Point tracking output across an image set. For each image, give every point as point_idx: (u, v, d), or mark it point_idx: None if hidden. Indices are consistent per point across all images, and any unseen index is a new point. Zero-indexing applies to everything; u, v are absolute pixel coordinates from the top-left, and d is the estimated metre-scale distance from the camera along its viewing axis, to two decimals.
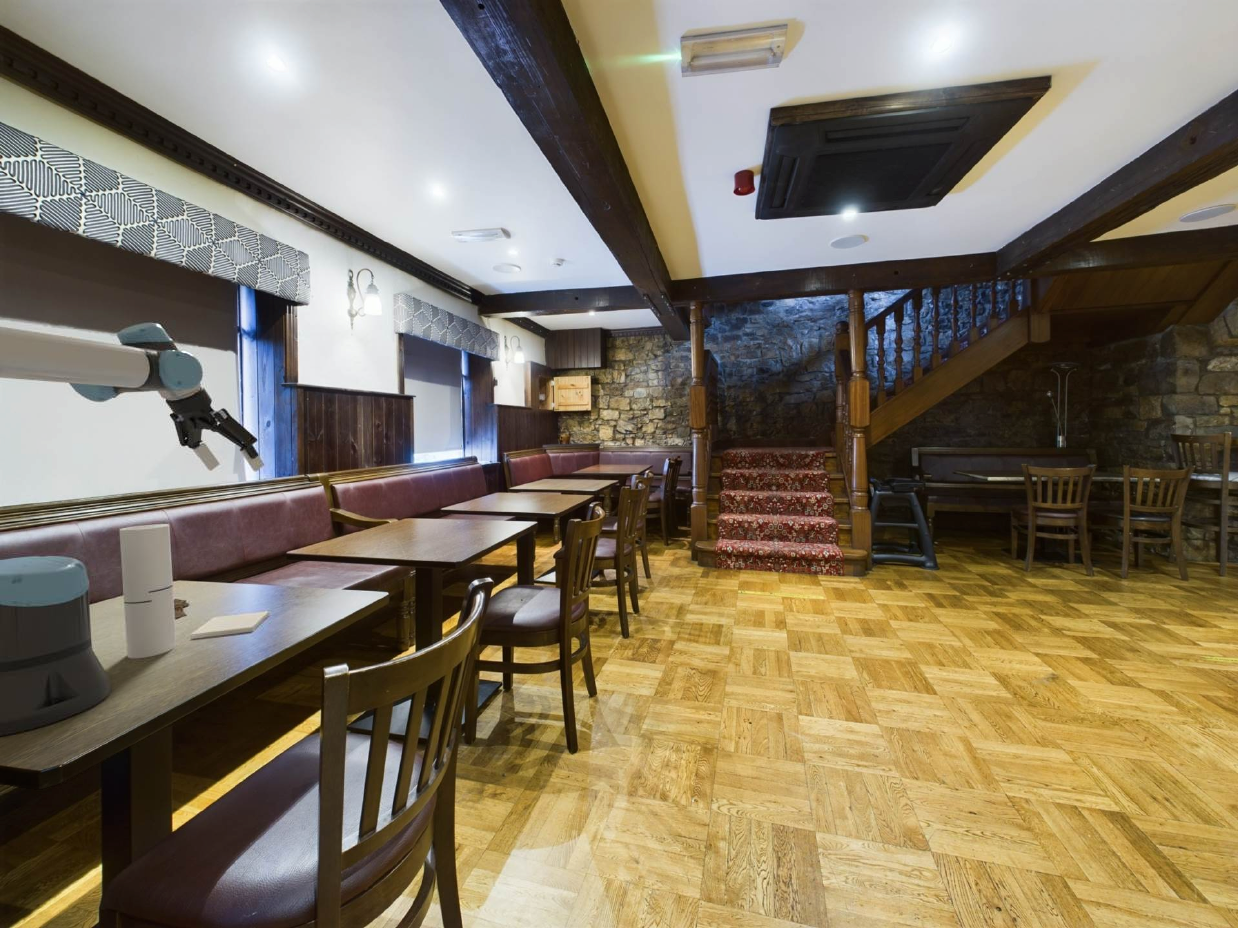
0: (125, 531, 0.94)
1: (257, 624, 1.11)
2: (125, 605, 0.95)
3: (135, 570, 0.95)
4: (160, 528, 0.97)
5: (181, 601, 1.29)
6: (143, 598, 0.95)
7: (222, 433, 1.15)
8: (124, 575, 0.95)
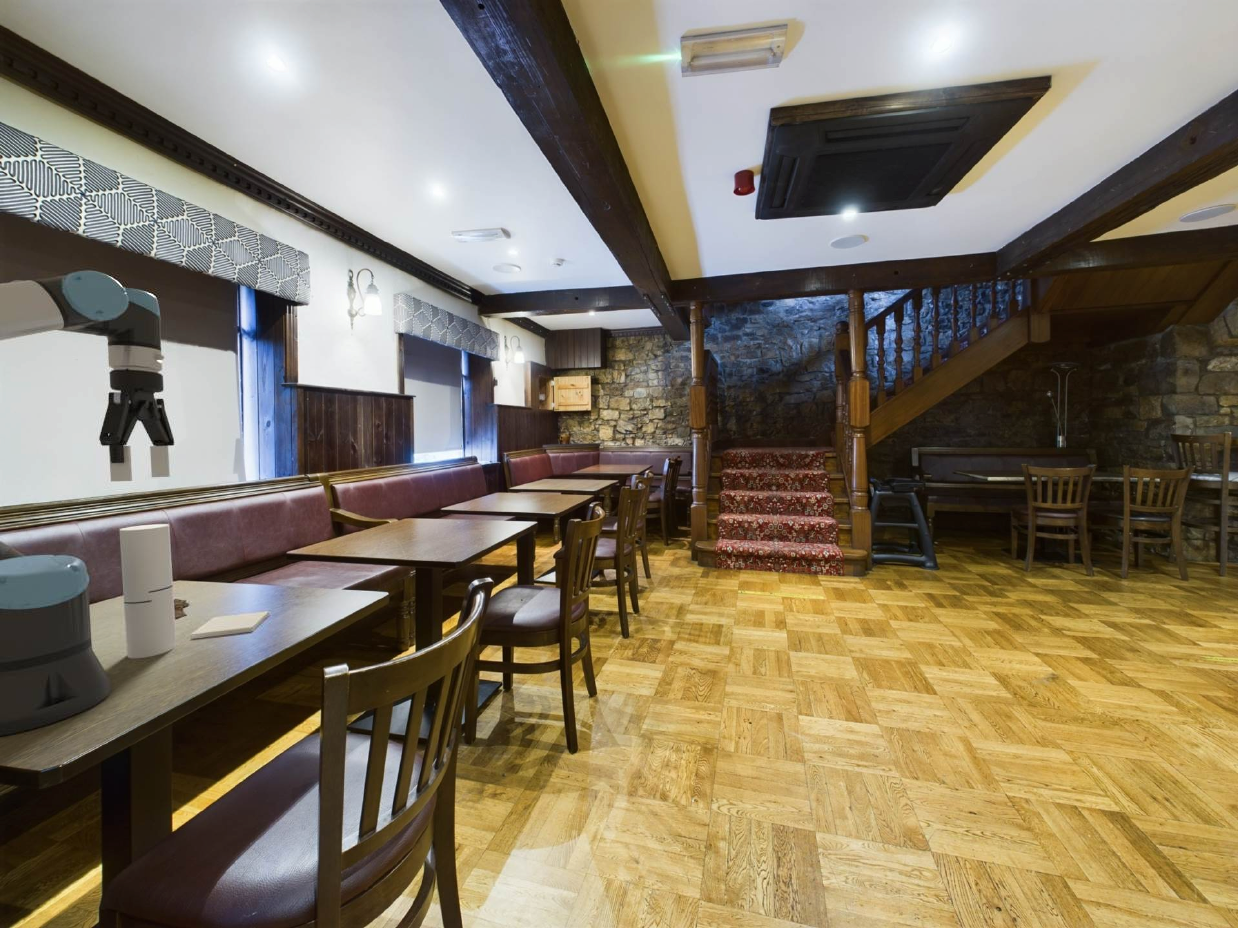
0: (125, 531, 0.94)
1: (257, 624, 1.11)
2: (125, 605, 0.95)
3: (135, 570, 0.95)
4: (160, 528, 0.97)
5: (181, 601, 1.29)
6: (143, 598, 0.95)
7: None
8: (124, 575, 0.95)
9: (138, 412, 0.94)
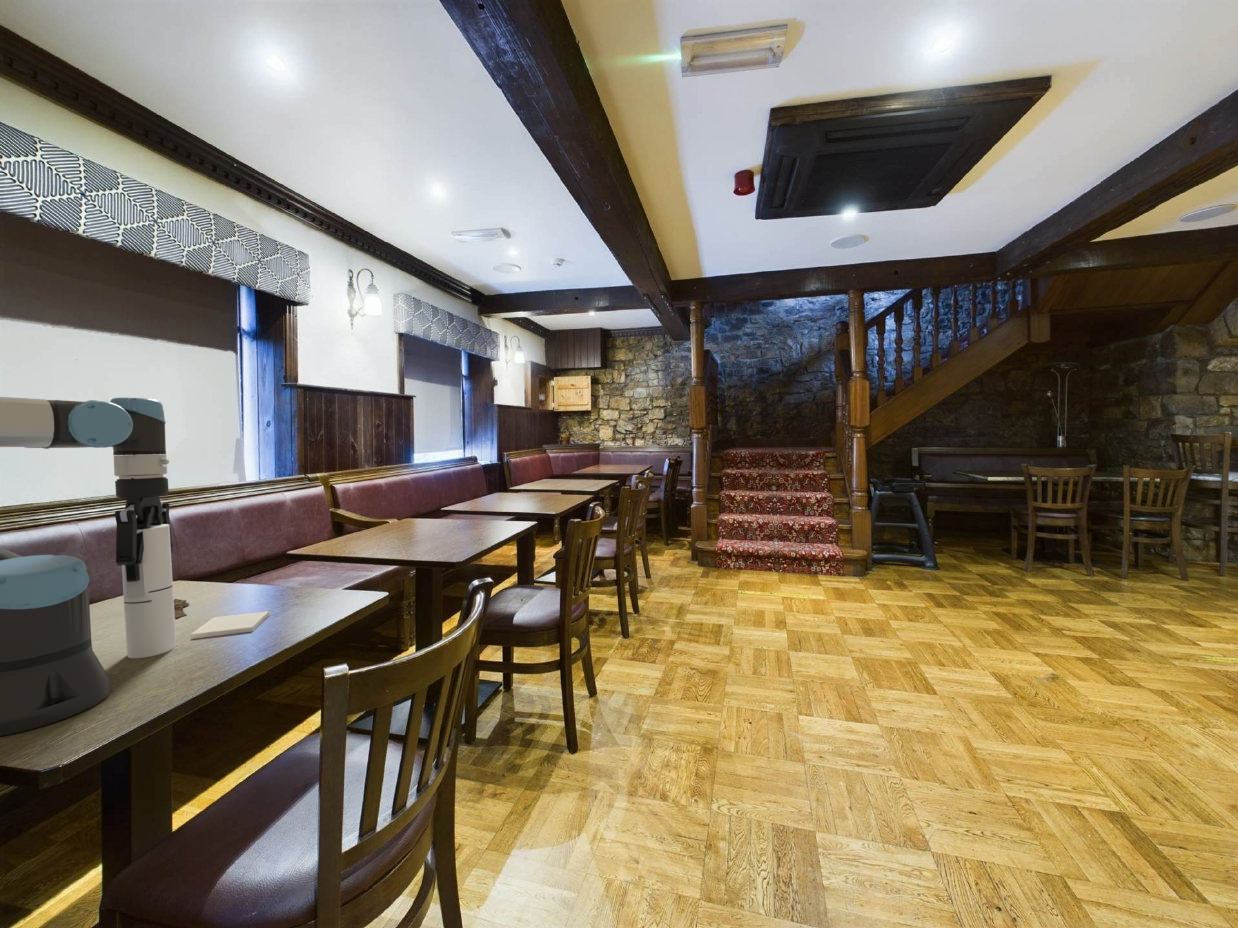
0: None
1: (257, 624, 1.11)
2: (125, 605, 0.95)
3: None
4: (160, 528, 0.97)
5: (181, 601, 1.29)
6: (143, 598, 0.95)
7: None
8: (124, 575, 0.95)
9: (146, 523, 0.96)
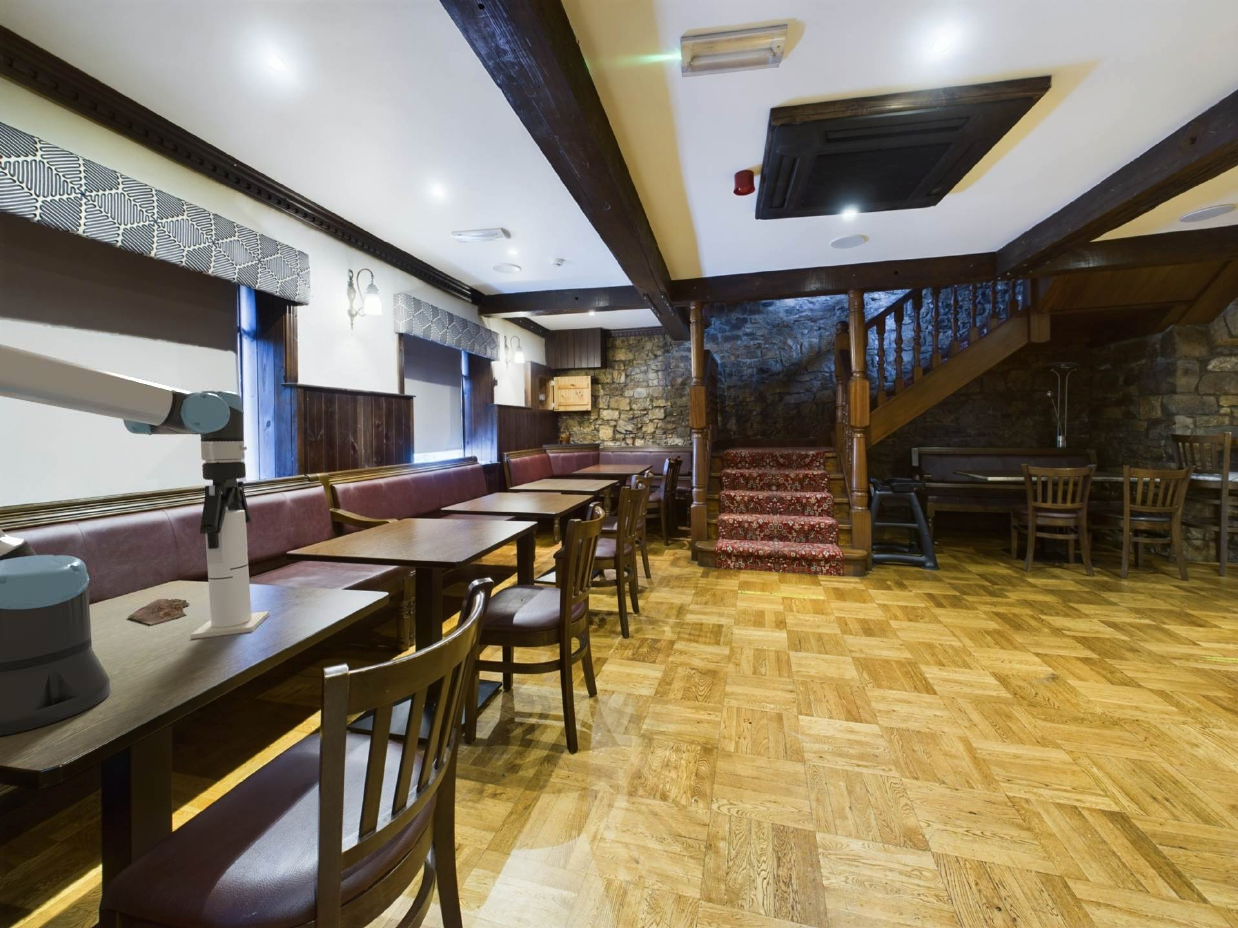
0: None
1: (257, 624, 1.11)
2: (210, 581, 1.08)
3: None
4: (238, 513, 1.10)
5: (181, 601, 1.29)
6: (225, 574, 1.08)
7: None
8: None
9: (227, 500, 1.07)
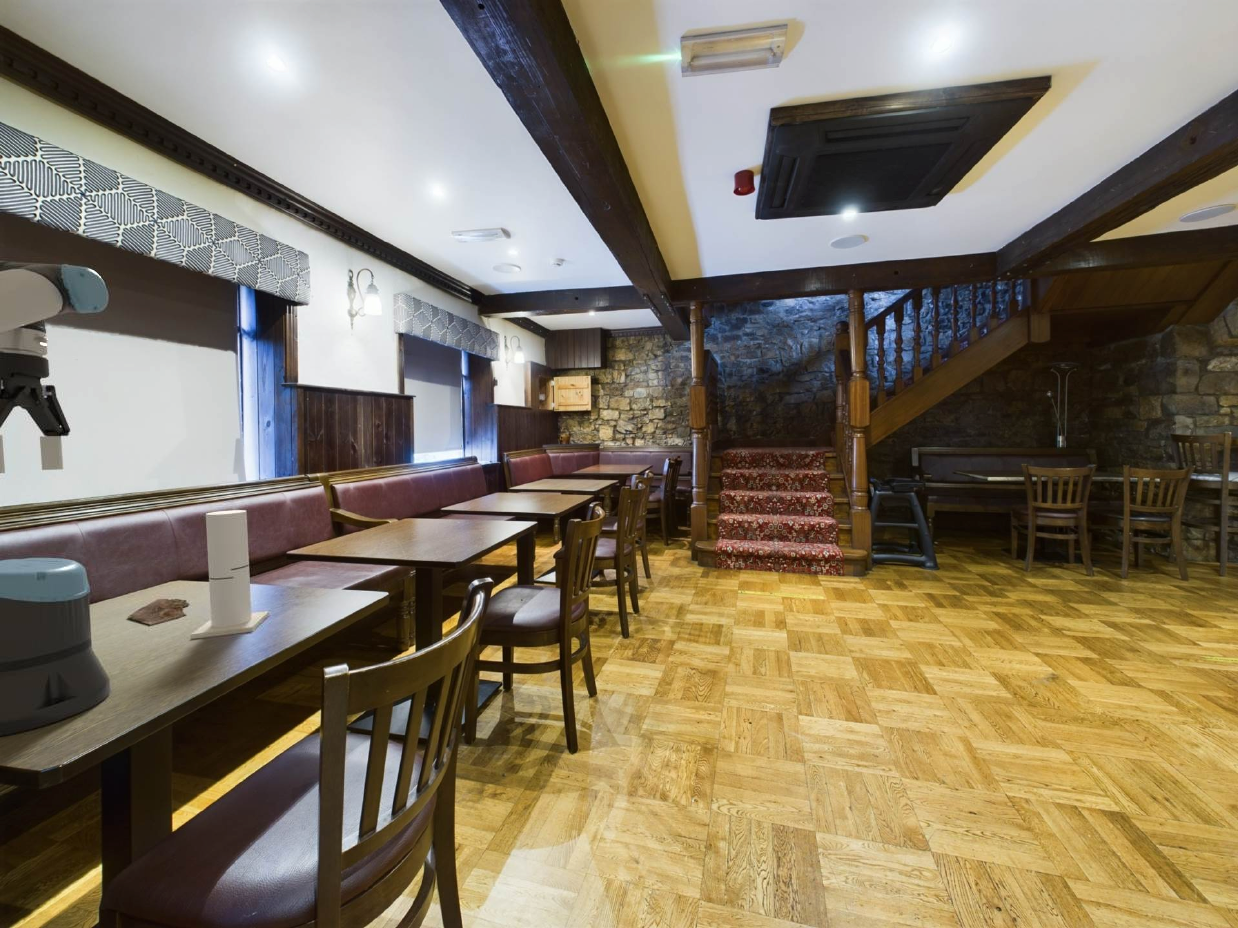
0: (211, 515, 1.07)
1: (257, 624, 1.11)
2: (210, 581, 1.08)
3: (220, 550, 1.07)
4: (240, 513, 1.10)
5: (181, 601, 1.29)
6: (226, 575, 1.08)
7: None
8: (210, 554, 1.07)
9: (14, 399, 0.87)
